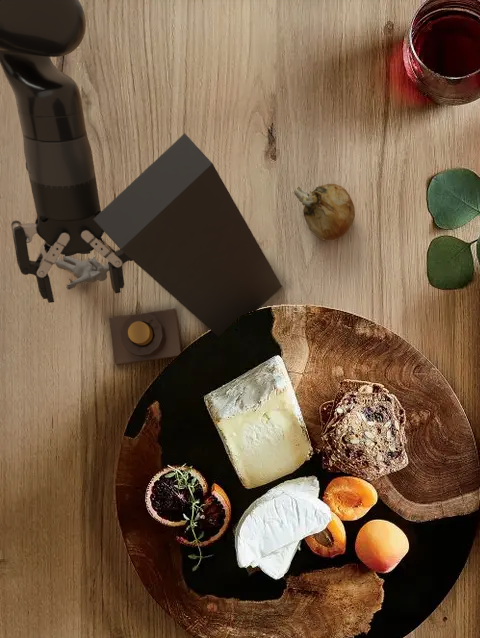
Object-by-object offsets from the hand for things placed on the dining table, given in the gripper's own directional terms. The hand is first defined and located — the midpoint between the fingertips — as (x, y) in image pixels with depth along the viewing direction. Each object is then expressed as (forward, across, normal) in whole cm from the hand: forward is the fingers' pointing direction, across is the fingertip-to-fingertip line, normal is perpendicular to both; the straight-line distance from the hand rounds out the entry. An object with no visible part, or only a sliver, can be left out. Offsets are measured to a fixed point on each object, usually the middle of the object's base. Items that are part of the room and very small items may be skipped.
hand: (84, 295), depth 109 cm
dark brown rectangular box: (+3, +20, +6) cm, 21 cm away
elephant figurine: (+5, +3, +14) cm, 16 cm away
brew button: (+9, +8, +4) cm, 13 cm away
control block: (+11, +8, +5) cm, 15 cm away
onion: (-5, +37, +3) cm, 37 cm away
